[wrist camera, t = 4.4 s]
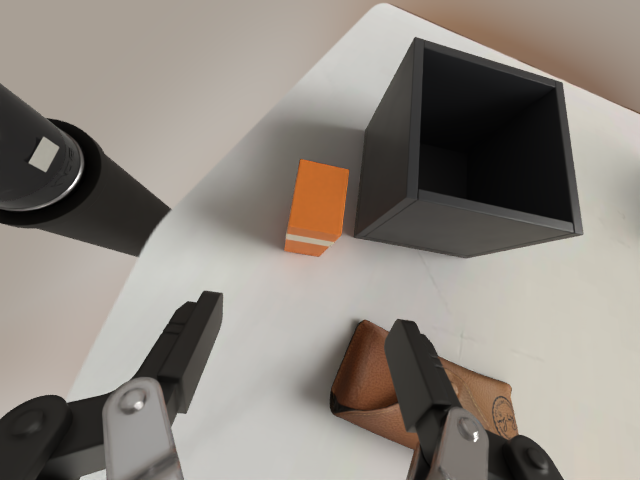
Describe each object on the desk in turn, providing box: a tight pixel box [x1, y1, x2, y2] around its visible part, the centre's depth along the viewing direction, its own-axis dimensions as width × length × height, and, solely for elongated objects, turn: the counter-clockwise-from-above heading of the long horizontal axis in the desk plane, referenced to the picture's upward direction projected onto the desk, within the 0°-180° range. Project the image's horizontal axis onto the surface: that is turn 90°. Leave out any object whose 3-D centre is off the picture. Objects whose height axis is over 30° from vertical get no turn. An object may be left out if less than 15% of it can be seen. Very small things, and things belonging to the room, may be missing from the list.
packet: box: [284, 159, 349, 257], centre depth 21 cm, size 4×5×9 cm
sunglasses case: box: [330, 320, 519, 450], centre depth 22 cm, size 18×7×7 cm
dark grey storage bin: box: [354, 37, 583, 258], centre depth 23 cm, size 14×14×11 cm
